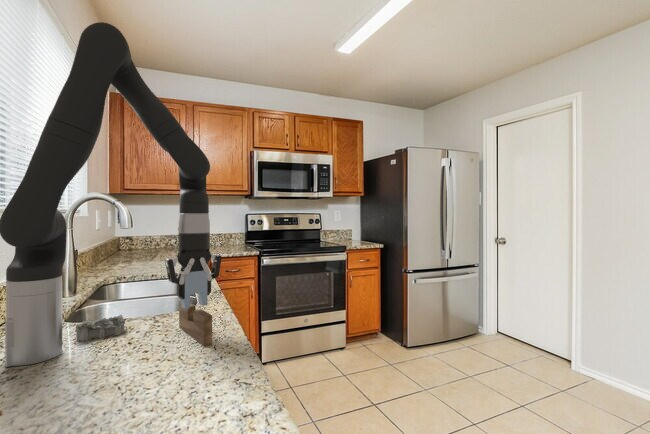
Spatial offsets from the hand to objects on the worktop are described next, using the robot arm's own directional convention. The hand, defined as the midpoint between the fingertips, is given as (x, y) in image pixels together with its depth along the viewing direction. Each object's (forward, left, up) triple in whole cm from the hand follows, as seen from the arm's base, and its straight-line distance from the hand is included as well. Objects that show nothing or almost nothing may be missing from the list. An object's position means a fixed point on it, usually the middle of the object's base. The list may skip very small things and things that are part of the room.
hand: (194, 296), depth 86 cm
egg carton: (-18, +17, -10) cm, 27 cm away
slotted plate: (0, 0, -10) cm, 10 cm away
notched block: (0, 0, -2) cm, 2 cm away
